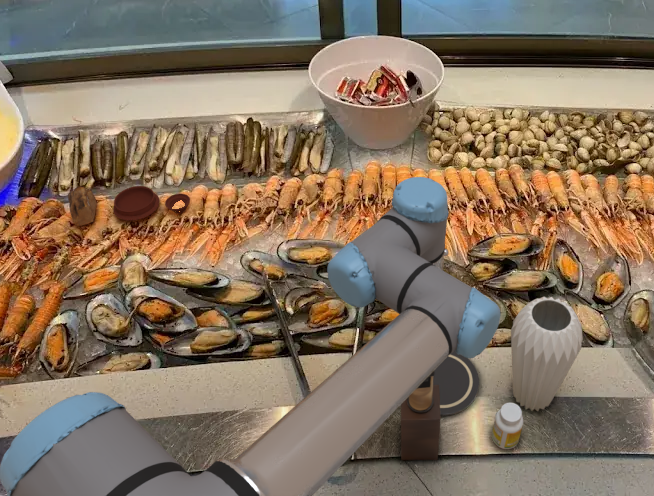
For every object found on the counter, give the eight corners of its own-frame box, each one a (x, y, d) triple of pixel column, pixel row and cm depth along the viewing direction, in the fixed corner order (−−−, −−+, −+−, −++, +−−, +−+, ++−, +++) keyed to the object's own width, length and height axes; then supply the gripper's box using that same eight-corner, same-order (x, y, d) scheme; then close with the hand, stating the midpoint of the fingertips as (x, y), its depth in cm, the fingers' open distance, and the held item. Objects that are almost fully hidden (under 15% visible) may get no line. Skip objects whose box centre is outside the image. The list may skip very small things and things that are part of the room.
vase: (526, 355, 145) (544, 275, 127) (577, 394, 138) (603, 315, 120) (487, 393, 138) (499, 314, 120) (538, 436, 131) (559, 359, 113)
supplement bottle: (488, 444, 130) (492, 418, 123) (496, 420, 133) (501, 395, 127) (514, 454, 128) (520, 429, 122) (522, 430, 132) (528, 404, 125)
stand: (401, 460, 127) (400, 419, 117) (401, 426, 132) (400, 384, 122) (437, 459, 127) (440, 419, 117) (436, 426, 132) (439, 384, 122)
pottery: (122, 196, 181) (117, 184, 178) (196, 195, 182) (193, 182, 179) (109, 226, 172) (104, 214, 169) (187, 224, 173) (183, 212, 170)
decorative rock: (99, 229, 172) (85, 198, 164) (74, 234, 170) (59, 203, 163) (100, 199, 180) (87, 169, 173) (76, 204, 178) (62, 173, 171)
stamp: (413, 417, 117) (414, 386, 110) (402, 395, 120) (402, 364, 113) (438, 407, 118) (440, 376, 112) (426, 386, 122) (428, 354, 115)
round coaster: (422, 428, 132) (422, 425, 131) (391, 365, 142) (390, 363, 142) (492, 398, 137) (493, 396, 136) (457, 340, 147) (457, 337, 147)
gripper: (458, 332, 90) (450, 414, 105) (430, 209, 109) (427, 293, 123) (403, 338, 90) (403, 420, 104) (385, 213, 108) (387, 297, 122)
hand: (416, 351), depth 113 cm, fingers open, 13 cm apart
